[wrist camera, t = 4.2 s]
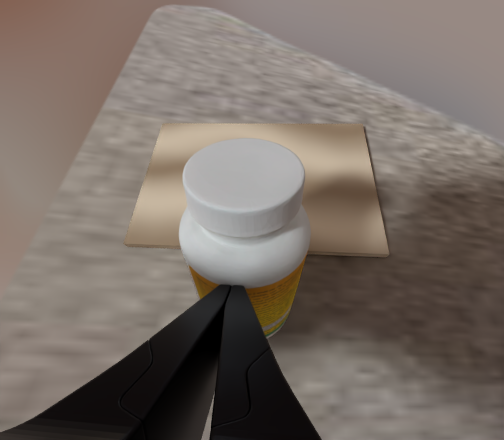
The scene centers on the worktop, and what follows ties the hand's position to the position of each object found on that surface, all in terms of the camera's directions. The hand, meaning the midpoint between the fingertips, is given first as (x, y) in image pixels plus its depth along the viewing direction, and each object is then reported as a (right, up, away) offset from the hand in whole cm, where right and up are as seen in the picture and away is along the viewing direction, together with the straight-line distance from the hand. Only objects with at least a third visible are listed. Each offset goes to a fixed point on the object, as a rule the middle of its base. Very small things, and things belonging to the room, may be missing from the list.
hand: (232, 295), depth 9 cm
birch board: (+1, +6, +11) cm, 13 cm away
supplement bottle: (0, -2, +6) cm, 7 cm away
